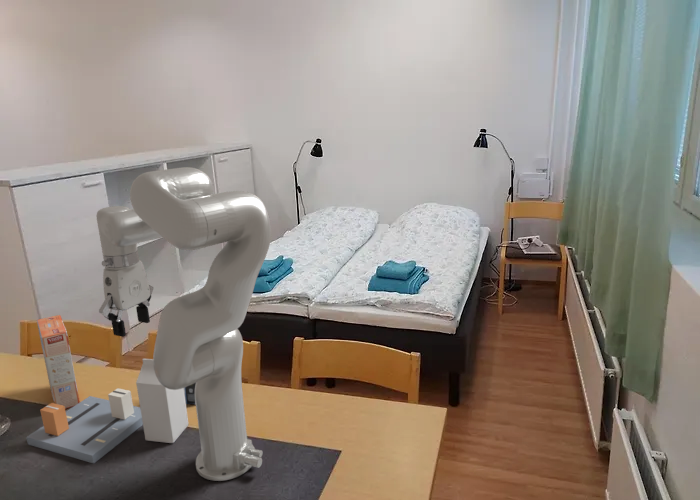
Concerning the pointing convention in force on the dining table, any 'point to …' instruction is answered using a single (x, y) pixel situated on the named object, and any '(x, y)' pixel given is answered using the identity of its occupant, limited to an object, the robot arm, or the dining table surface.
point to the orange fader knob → (54, 419)
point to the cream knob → (121, 403)
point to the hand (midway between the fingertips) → (132, 328)
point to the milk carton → (160, 407)
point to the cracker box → (58, 361)
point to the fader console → (88, 431)
